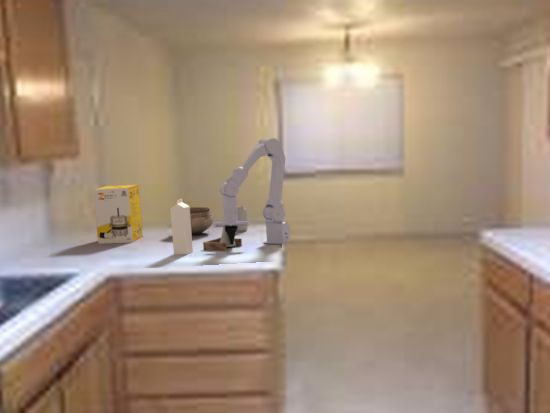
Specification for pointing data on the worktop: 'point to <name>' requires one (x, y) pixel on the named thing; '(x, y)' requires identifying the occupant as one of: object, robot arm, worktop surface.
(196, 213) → the cooking pot
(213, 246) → the box
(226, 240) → the flask
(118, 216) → the packaging box
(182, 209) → the milk
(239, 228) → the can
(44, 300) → the worktop surface
